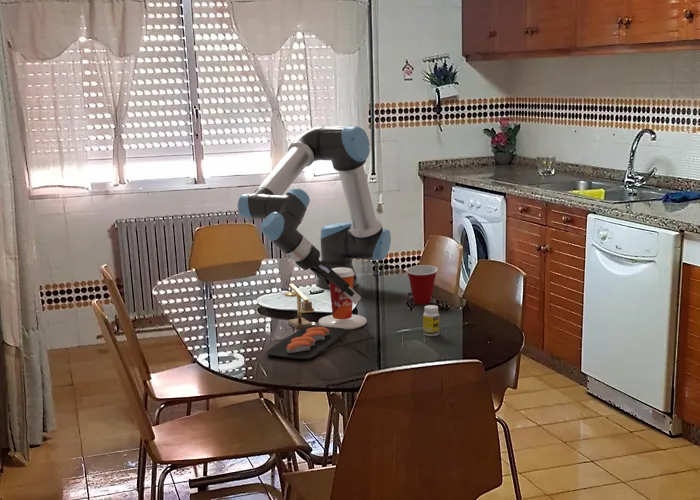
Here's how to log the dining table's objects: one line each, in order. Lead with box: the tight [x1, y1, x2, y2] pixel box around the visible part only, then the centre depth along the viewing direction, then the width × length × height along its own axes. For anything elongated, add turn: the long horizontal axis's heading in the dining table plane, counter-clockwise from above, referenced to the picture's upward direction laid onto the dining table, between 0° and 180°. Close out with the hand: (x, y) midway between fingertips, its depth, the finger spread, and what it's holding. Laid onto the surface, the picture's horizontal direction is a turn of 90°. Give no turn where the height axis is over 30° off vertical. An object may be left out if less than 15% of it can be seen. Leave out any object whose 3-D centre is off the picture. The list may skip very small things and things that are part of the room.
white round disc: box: [318, 313, 368, 331], centre depth 251 cm, size 15×15×1 cm
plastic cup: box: [405, 264, 439, 305], centre depth 273 cm, size 11×11×12 cm
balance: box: [284, 283, 315, 330], centre depth 250 cm, size 16×5×12 cm, turn 27°
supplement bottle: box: [422, 304, 440, 337], centre depth 238 cm, size 5×5×8 cm
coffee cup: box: [329, 268, 355, 319], centre depth 249 cm, size 8×8×15 cm
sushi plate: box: [266, 325, 374, 361], centre depth 228 cm, size 29×30×4 cm
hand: (351, 297), depth 251 cm, fingers closed on coffee cup, 8 cm apart
